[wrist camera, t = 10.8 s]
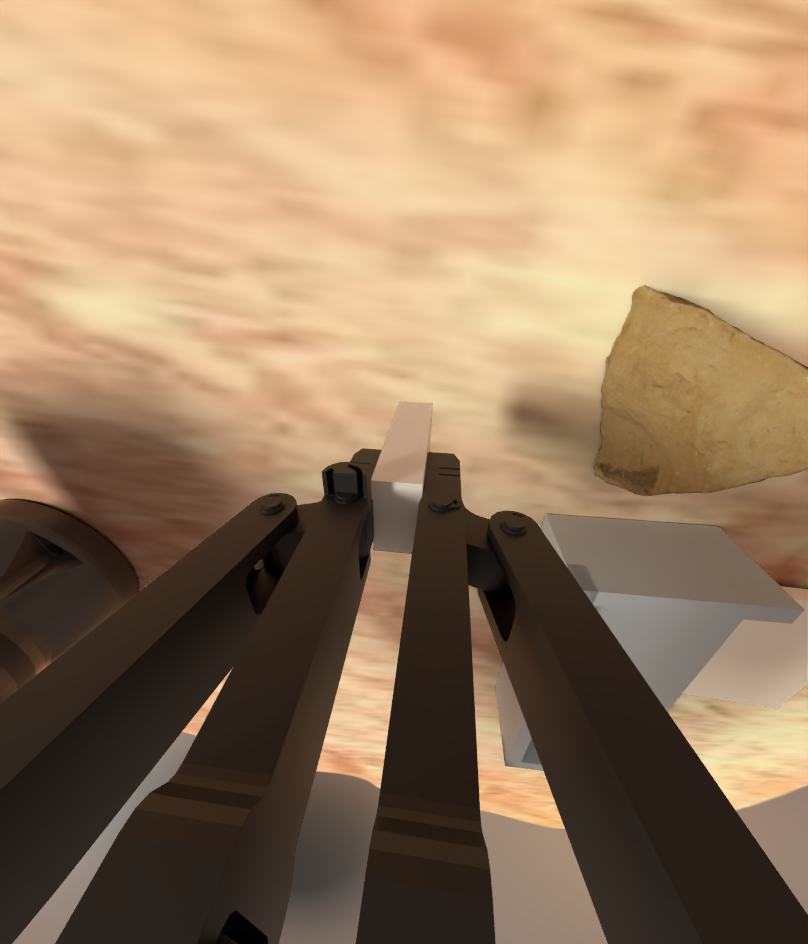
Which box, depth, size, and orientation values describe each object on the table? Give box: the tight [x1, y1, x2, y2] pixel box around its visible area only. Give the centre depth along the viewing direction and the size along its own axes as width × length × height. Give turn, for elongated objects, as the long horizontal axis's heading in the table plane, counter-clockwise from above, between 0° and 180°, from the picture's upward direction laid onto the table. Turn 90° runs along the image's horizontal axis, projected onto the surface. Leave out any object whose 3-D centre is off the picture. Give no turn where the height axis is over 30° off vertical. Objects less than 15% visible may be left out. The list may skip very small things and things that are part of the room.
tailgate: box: [682, 586, 808, 709], centre depth 30 cm, size 1×14×11 cm
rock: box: [594, 286, 808, 496], centre depth 18 cm, size 11×9×10 cm
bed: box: [495, 514, 805, 771], centre depth 29 cm, size 12×24×7 cm, turn 179°
